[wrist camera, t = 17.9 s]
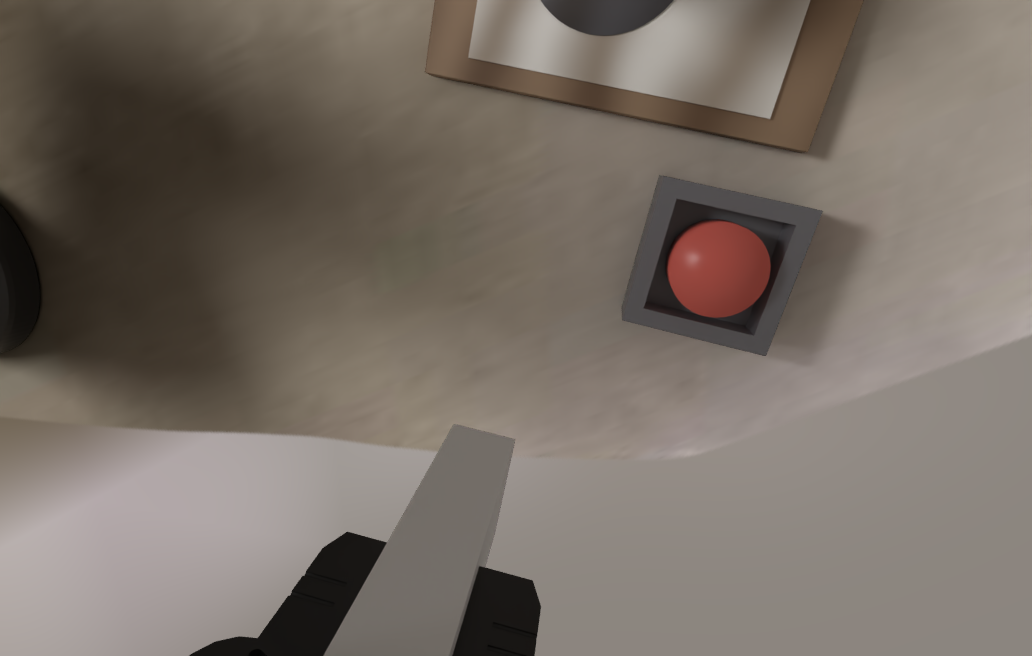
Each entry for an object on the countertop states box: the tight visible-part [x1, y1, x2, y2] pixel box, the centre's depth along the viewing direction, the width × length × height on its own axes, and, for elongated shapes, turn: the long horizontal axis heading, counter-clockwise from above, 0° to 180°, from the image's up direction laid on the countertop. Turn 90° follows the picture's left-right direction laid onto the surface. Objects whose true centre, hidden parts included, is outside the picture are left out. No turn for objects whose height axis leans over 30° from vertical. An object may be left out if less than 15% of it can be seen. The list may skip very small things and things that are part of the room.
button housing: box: [622, 175, 823, 356], centre depth 31 cm, size 8×8×3 cm
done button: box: [666, 219, 771, 318], centre depth 30 cm, size 5×5×2 cm
